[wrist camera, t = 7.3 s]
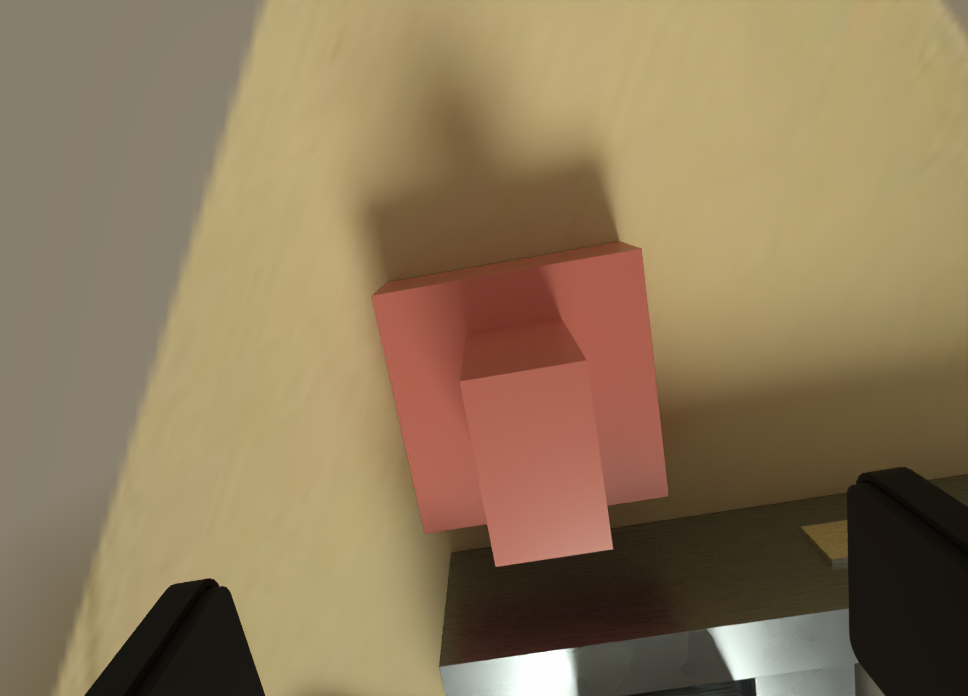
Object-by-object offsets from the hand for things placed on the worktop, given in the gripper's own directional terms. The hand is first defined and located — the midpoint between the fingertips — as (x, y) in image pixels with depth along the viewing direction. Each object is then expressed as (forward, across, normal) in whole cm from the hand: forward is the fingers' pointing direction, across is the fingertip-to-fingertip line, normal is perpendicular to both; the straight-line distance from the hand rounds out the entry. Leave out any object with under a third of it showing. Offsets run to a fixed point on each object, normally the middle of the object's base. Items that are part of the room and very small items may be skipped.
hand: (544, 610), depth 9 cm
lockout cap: (+14, 0, +1) cm, 14 cm away
